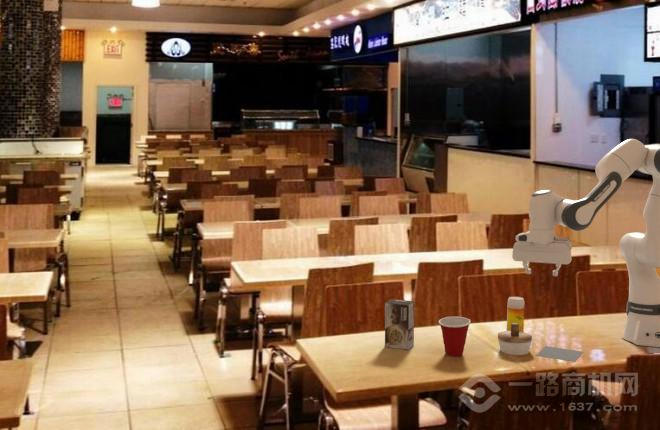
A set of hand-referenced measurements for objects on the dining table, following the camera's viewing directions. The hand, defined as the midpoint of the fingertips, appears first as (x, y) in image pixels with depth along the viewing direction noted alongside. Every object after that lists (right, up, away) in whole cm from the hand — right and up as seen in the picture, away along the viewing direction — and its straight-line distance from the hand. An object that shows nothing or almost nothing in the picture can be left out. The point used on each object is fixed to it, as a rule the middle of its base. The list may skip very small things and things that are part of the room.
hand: (541, 274), depth 272 cm
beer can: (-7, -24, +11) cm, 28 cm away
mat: (+3, -27, -10) cm, 29 cm away
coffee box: (-51, -25, 0) cm, 57 cm away
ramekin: (-11, -27, -7) cm, 30 cm away
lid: (-11, -21, -7) cm, 25 cm away
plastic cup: (-33, -27, -9) cm, 43 cm away
